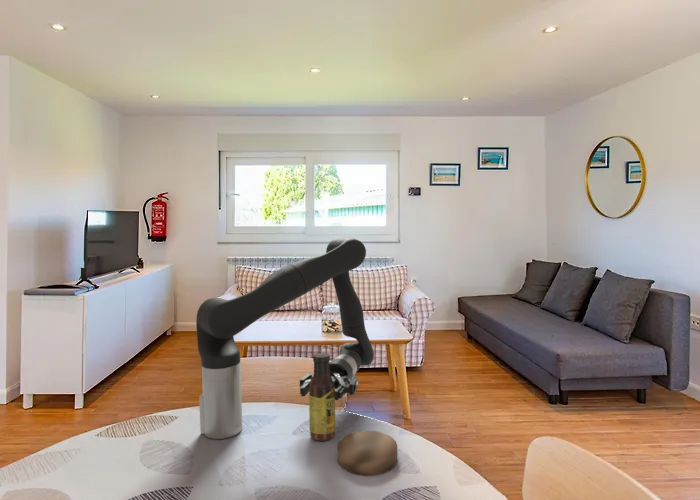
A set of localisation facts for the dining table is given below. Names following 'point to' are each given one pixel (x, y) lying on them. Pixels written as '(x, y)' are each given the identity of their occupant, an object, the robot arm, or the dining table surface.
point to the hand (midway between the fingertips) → (319, 394)
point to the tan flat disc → (367, 453)
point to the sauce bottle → (322, 400)
